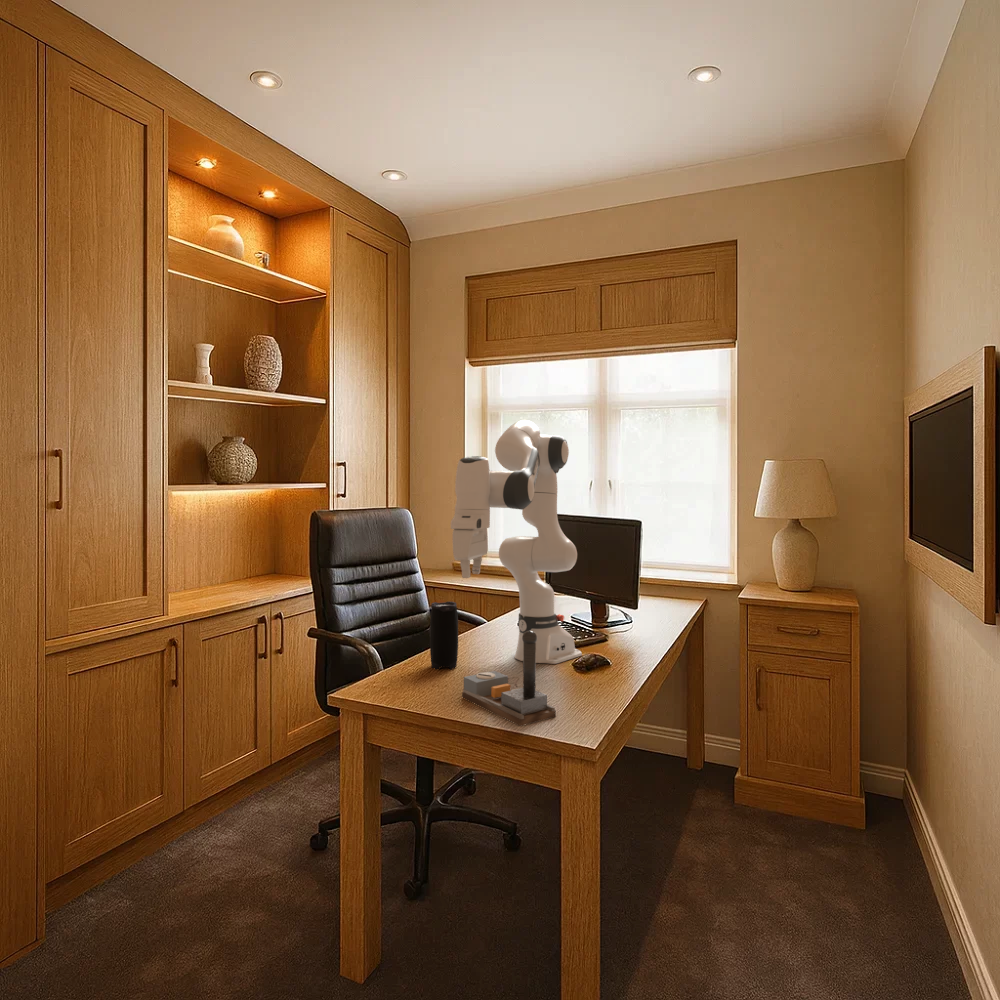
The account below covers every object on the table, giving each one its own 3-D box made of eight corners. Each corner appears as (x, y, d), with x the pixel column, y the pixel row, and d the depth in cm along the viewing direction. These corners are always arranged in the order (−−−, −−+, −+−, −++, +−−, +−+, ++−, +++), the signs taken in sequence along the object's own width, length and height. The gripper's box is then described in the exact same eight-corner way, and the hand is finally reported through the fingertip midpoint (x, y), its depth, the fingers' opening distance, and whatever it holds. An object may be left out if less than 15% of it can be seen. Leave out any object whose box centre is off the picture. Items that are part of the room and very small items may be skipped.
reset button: (507, 692, 181) (507, 683, 180) (510, 694, 179) (510, 684, 179) (491, 696, 178) (491, 686, 178) (494, 697, 176) (494, 688, 176)
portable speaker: (453, 661, 218) (454, 600, 218) (461, 669, 210) (461, 605, 209) (426, 663, 216) (427, 601, 215) (433, 672, 207) (433, 607, 206)
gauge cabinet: (494, 685, 189) (494, 668, 189) (507, 690, 185) (507, 673, 184) (463, 691, 184) (463, 674, 183) (476, 697, 179) (476, 680, 179)
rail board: (496, 690, 190) (496, 682, 190) (555, 716, 170) (555, 707, 170) (462, 697, 183) (462, 689, 183) (520, 726, 163) (520, 716, 163)
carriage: (526, 700, 176) (527, 624, 176) (547, 709, 170) (547, 630, 169) (501, 706, 172) (501, 628, 171) (521, 715, 165) (521, 634, 164)
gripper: (470, 519, 185) (470, 570, 185) (448, 521, 165) (447, 579, 165) (493, 519, 184) (493, 571, 184) (474, 522, 164) (473, 581, 164)
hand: (471, 575), depth 174 cm, fingers open, 8 cm apart
